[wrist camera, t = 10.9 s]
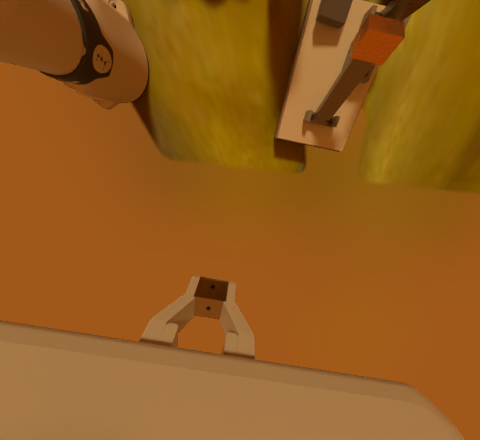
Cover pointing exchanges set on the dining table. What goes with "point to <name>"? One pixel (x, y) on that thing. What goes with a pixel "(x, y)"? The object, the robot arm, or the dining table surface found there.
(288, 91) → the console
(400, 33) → the lever orange
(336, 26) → the block
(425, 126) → the dining table surface
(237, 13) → the dining table surface
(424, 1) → the lever black
